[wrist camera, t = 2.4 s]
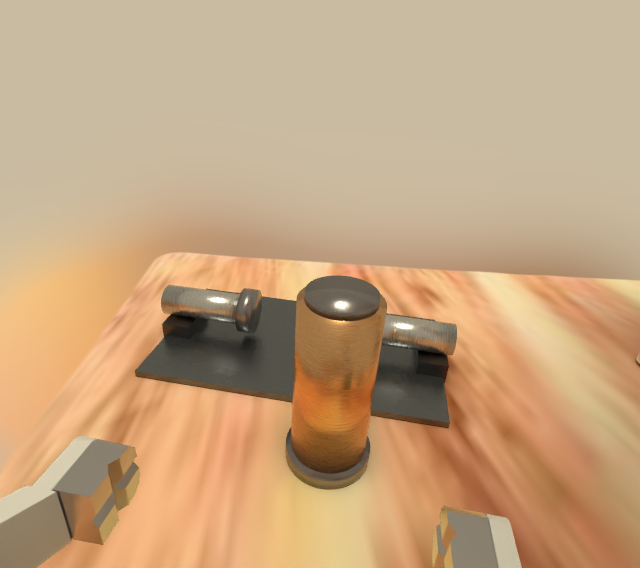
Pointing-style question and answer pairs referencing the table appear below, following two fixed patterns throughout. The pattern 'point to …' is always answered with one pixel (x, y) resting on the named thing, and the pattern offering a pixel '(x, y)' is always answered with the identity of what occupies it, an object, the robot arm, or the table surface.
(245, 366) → the shaft bench
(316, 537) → the table surface
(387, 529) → the table surface
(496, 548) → the robot arm
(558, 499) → the table surface
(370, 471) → the table surface
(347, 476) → the amber capped cylinder
